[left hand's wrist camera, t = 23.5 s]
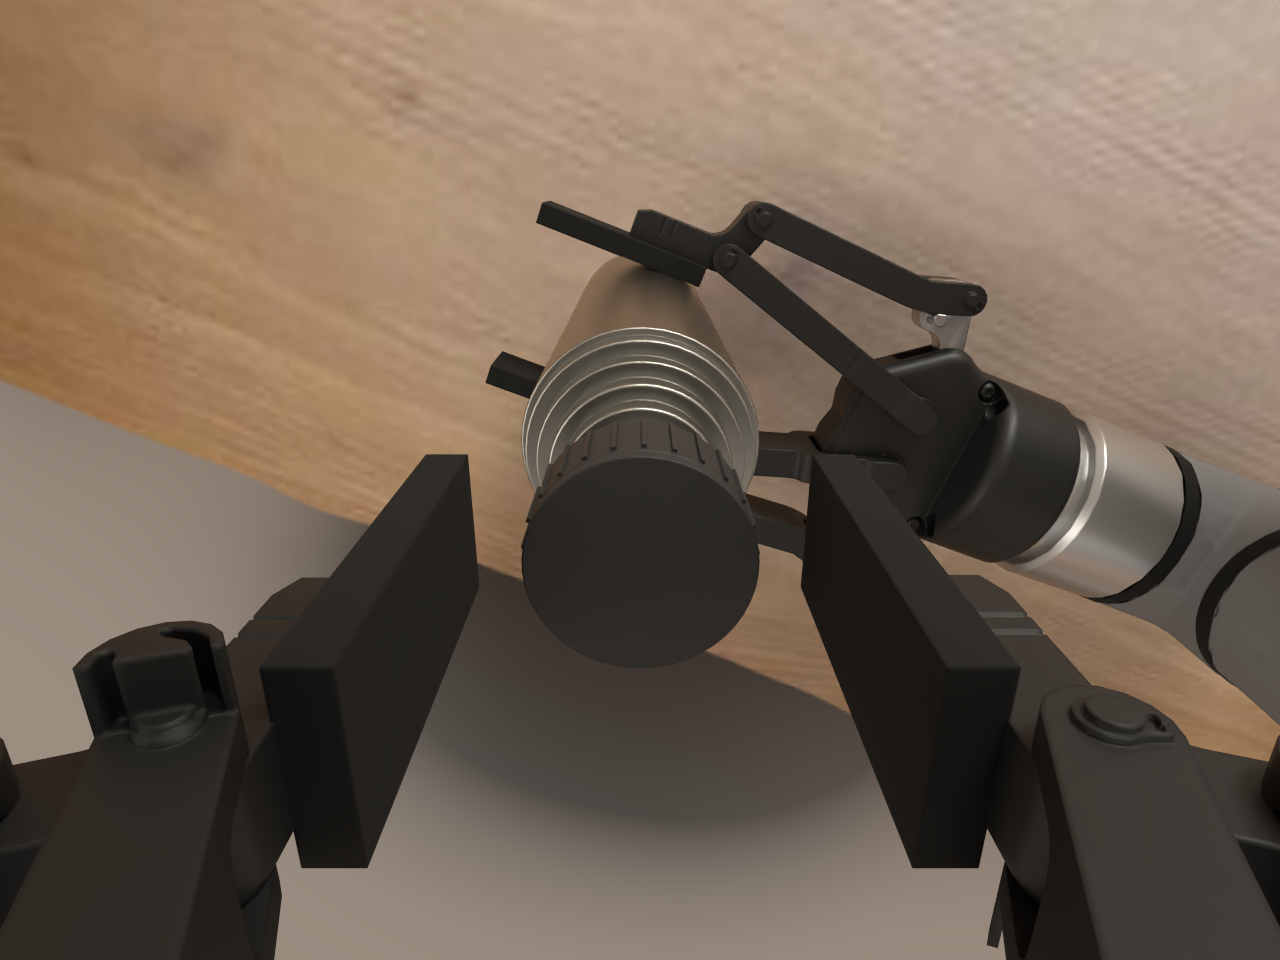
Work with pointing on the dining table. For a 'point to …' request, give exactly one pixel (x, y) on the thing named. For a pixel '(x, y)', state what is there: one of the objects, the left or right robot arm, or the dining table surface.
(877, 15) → the dining table surface
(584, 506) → the cap
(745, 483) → the bottle
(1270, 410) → the dining table surface
